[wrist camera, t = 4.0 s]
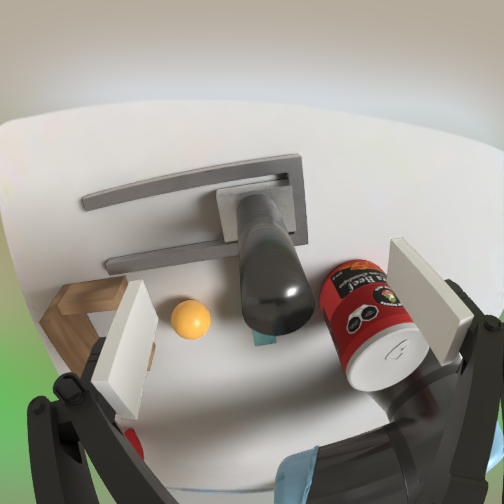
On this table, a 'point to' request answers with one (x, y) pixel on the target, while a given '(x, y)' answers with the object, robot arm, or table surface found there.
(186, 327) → the ball
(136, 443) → the strawberry
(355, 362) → the canned food
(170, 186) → the rail
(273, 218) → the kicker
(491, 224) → the table surface
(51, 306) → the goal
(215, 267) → the table surface
